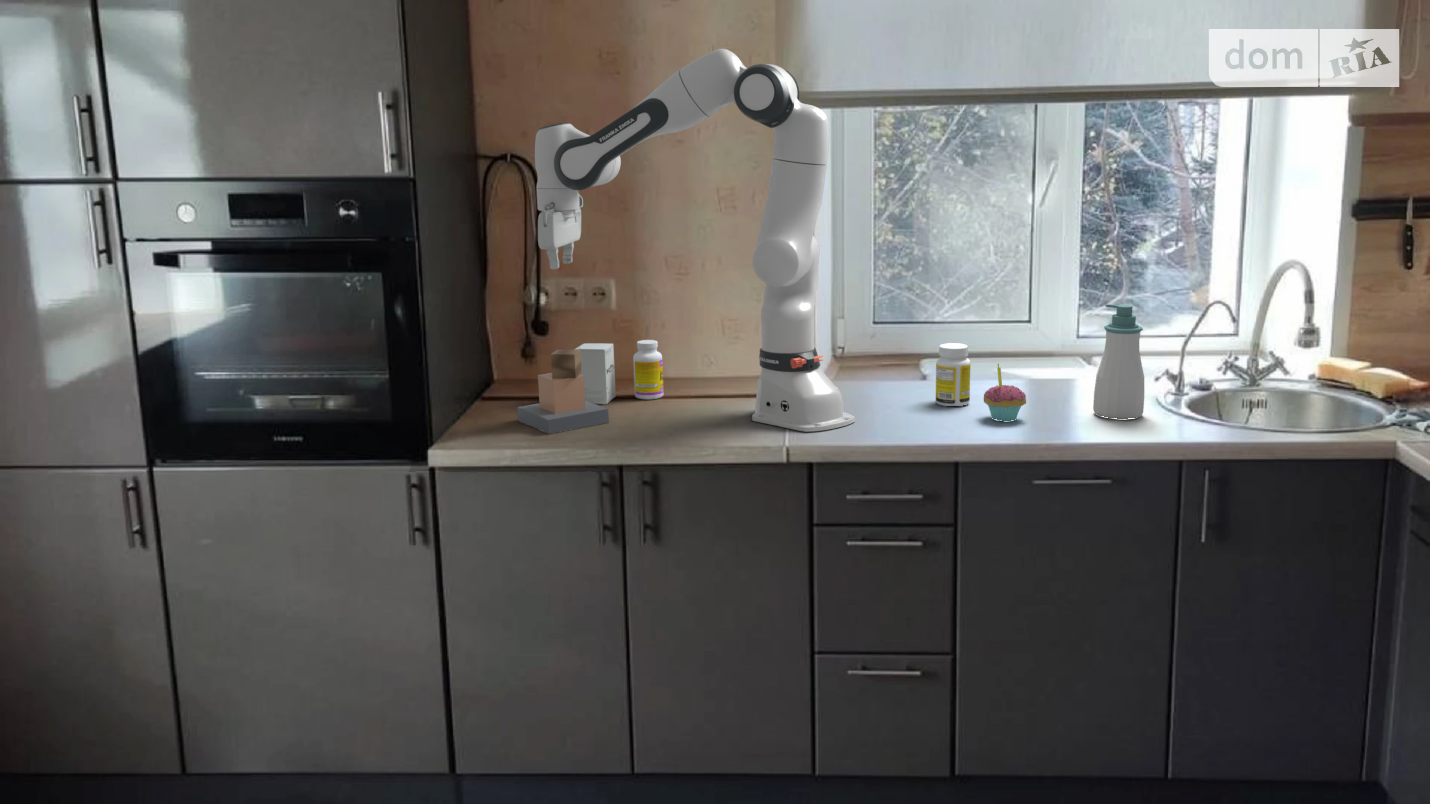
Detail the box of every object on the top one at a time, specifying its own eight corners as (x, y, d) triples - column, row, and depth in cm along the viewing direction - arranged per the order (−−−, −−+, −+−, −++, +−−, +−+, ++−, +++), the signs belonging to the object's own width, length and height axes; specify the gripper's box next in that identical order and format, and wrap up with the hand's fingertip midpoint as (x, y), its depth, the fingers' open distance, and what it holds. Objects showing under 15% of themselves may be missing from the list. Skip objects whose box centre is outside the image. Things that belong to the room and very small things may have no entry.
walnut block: (581, 372, 241) (580, 349, 239) (575, 378, 236) (574, 354, 235) (558, 372, 241) (557, 349, 240) (552, 378, 236) (550, 354, 235)
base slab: (608, 422, 239) (608, 408, 239) (549, 434, 231) (548, 419, 231) (576, 410, 250) (575, 396, 250) (518, 420, 243) (517, 407, 242)
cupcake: (1001, 426, 230) (1003, 368, 227) (973, 417, 237) (975, 361, 234) (1034, 420, 233) (1036, 363, 230) (1005, 412, 241) (1008, 356, 238)
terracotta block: (585, 408, 239) (583, 375, 238) (555, 413, 236) (553, 380, 234) (569, 402, 245) (567, 370, 243) (539, 407, 241) (537, 375, 239)
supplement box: (607, 404, 255) (604, 349, 252) (575, 404, 256) (572, 348, 253) (616, 397, 262) (614, 342, 259) (585, 396, 263) (583, 342, 260)
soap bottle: (1106, 407, 243) (1113, 300, 237) (1151, 414, 236) (1159, 305, 231) (1084, 416, 236) (1090, 306, 231) (1129, 424, 229) (1136, 311, 224)
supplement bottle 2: (964, 399, 253) (966, 342, 250) (973, 406, 246) (975, 348, 243) (931, 400, 252) (932, 343, 249) (939, 408, 245) (941, 349, 242)
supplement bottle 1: (665, 399, 258) (663, 343, 255) (636, 401, 257) (633, 345, 254) (662, 392, 265) (660, 338, 262) (633, 394, 264) (631, 339, 261)
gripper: (558, 204, 234) (561, 272, 237) (585, 198, 253) (588, 260, 257) (528, 205, 235) (532, 272, 238) (557, 198, 254) (560, 260, 258)
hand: (561, 266), depth 248 cm, fingers open, 8 cm apart
